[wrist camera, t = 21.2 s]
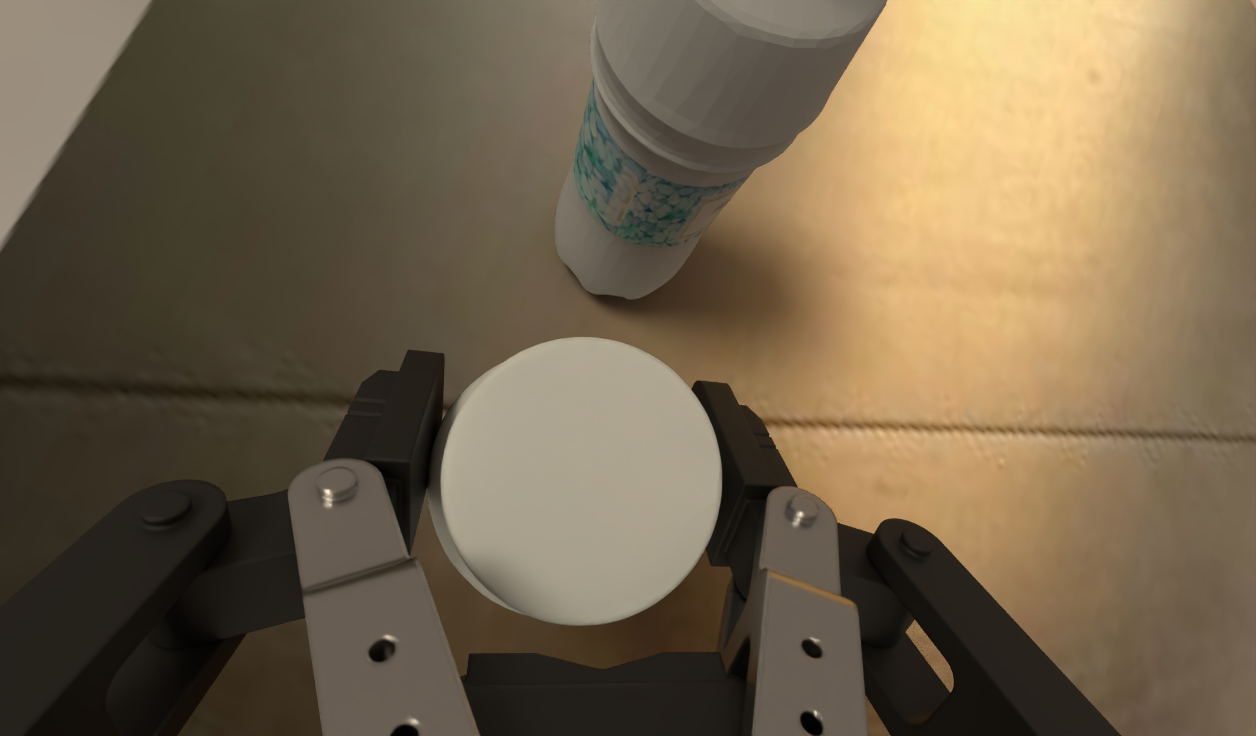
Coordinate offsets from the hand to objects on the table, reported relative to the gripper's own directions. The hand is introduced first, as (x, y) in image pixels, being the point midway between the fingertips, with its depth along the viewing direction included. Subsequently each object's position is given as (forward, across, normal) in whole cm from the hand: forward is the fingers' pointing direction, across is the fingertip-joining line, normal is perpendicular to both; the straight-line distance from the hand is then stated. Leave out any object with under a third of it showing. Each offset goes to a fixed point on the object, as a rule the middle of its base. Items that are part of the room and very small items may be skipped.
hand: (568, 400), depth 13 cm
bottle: (+16, -3, +2) cm, 16 cm away
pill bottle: (+3, 0, +6) cm, 7 cm away
